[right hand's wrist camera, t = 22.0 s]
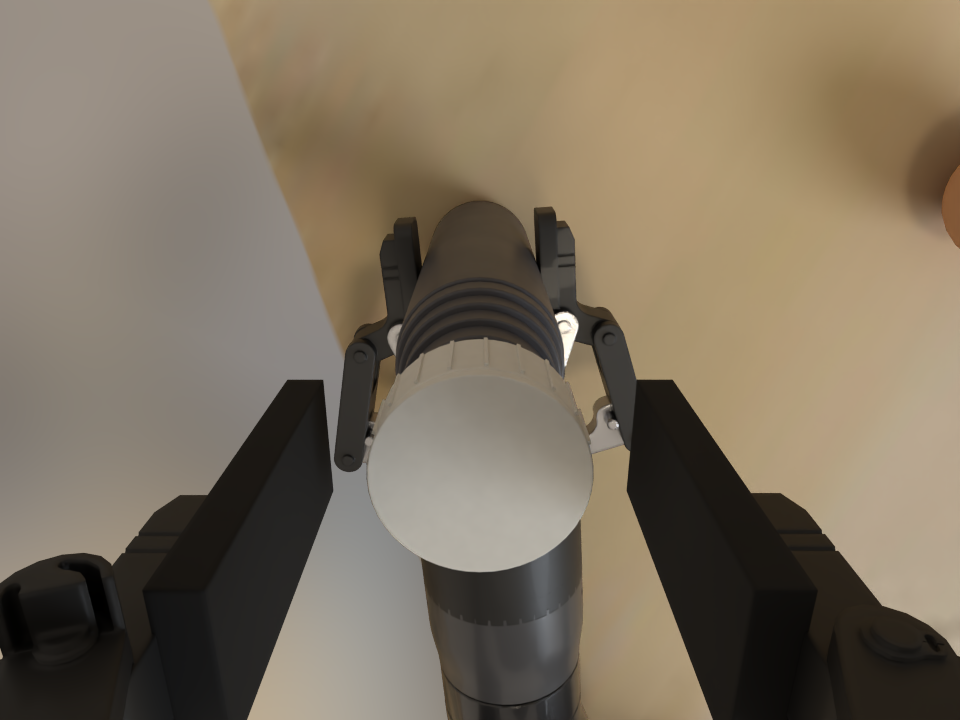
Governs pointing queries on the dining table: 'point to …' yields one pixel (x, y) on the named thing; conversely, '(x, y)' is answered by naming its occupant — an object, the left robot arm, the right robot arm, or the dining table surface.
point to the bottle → (480, 289)
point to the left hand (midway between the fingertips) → (473, 217)
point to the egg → (952, 207)
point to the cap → (480, 457)
